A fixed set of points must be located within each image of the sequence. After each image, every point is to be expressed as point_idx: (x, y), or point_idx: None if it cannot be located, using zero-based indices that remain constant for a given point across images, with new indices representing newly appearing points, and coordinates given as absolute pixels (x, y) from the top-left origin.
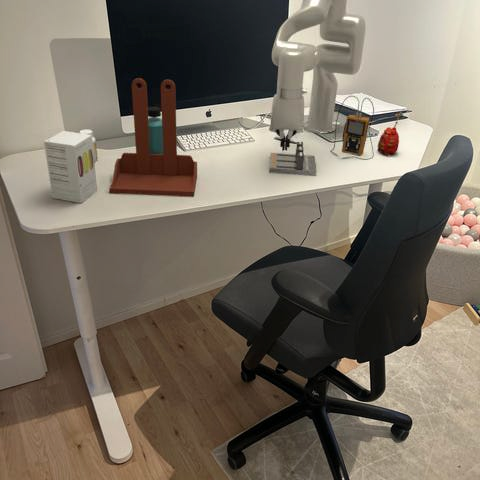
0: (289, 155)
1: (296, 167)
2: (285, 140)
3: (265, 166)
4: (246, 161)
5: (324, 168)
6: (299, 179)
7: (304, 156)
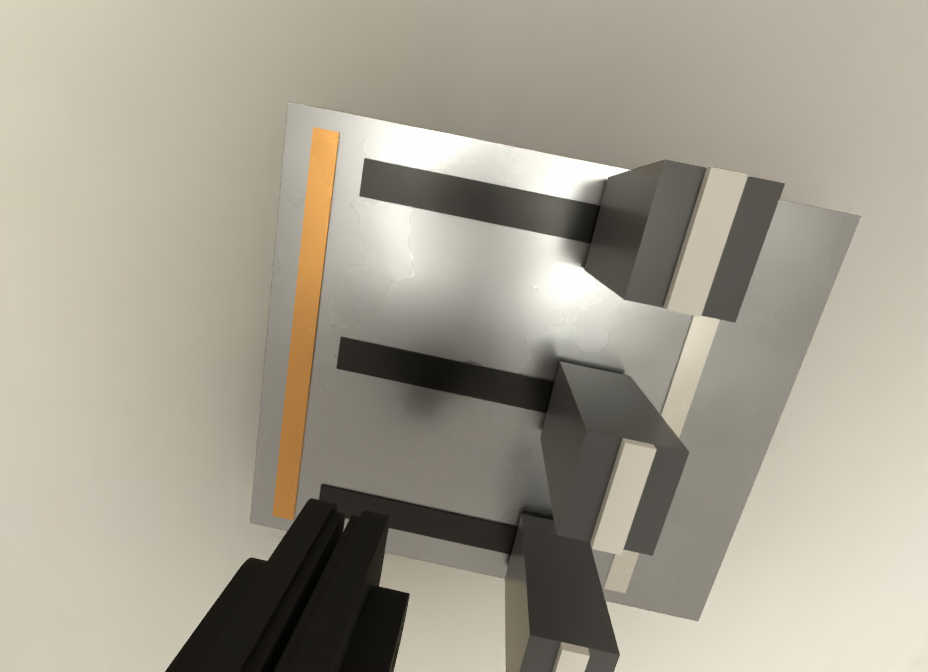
0: (516, 210)
1: (505, 583)
2: (303, 622)
3: (246, 365)
4: (61, 238)
5: (839, 437)
6: None
7: None
